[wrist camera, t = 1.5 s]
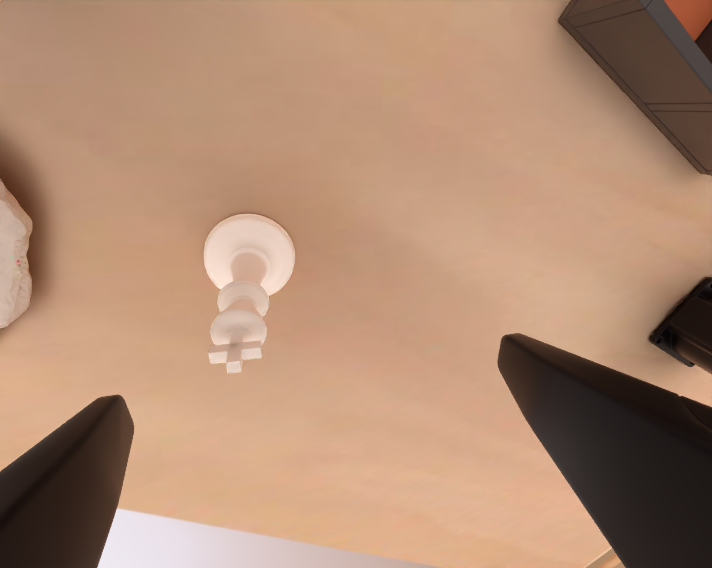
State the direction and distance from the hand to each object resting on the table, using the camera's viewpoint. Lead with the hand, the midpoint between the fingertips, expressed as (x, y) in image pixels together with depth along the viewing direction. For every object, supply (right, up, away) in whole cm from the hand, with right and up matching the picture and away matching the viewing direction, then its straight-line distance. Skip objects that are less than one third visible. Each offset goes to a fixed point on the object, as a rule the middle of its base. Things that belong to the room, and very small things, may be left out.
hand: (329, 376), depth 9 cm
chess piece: (-5, +4, +12) cm, 14 cm away
